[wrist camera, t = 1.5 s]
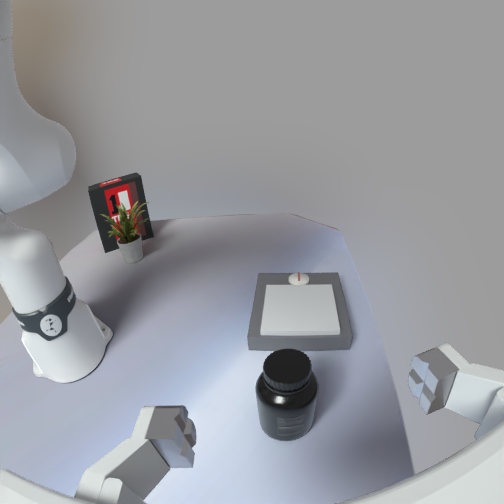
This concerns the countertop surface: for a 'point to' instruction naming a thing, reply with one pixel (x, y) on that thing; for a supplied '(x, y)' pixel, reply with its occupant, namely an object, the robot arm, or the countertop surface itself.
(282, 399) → the supplement bottle
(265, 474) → the countertop surface
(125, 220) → the house plant
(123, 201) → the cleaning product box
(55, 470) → the countertop surface
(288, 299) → the kitchen scale
